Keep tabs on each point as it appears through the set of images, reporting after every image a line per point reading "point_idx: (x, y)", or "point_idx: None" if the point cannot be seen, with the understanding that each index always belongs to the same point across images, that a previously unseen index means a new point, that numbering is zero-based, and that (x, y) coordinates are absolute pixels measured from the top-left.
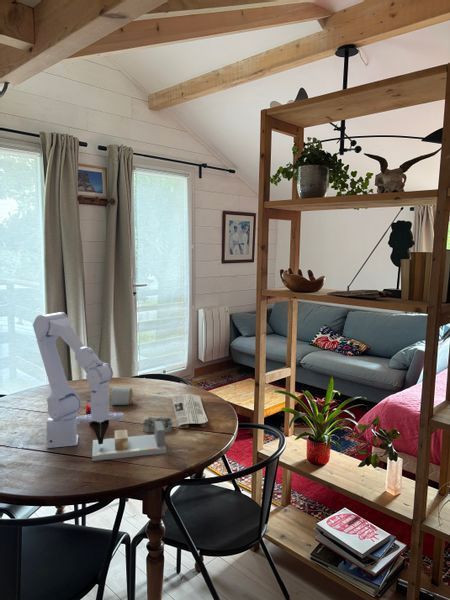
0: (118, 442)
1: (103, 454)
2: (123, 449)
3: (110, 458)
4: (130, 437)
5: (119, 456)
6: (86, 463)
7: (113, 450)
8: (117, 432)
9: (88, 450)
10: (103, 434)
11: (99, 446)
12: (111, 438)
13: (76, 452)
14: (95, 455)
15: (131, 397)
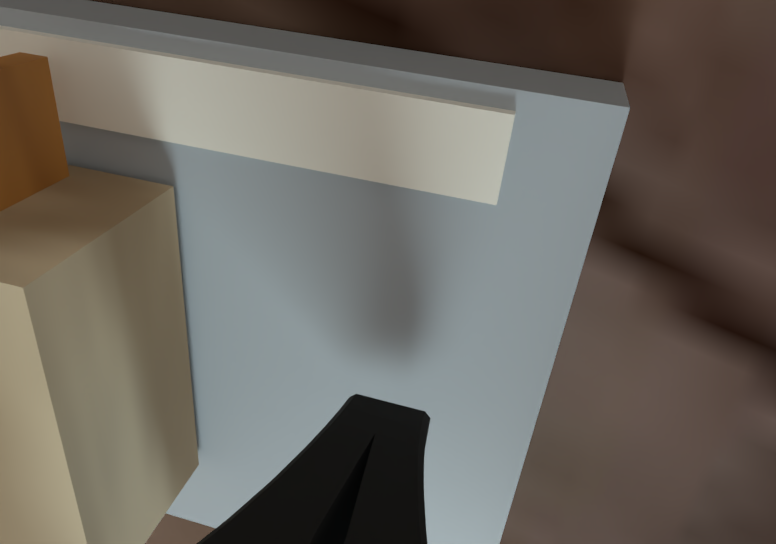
0: (23, 232)
1: (388, 92)
2: None
3: (292, 33)
4: None
5: (135, 13)
6: (768, 11)
7: (206, 187)
8: (41, 529)
9: (581, 450)
10: (245, 534)
11: None
12: None
13: (773, 476)
14: (553, 115)
15: None
